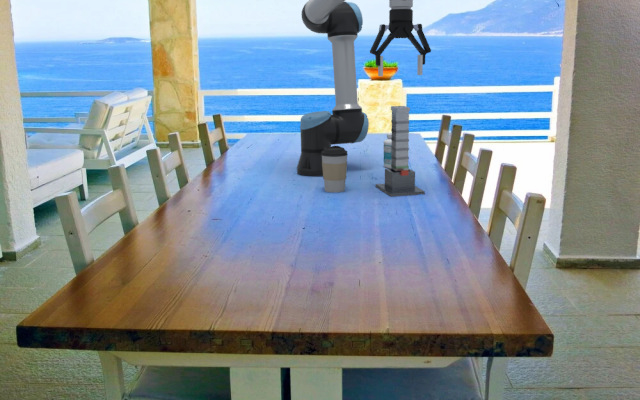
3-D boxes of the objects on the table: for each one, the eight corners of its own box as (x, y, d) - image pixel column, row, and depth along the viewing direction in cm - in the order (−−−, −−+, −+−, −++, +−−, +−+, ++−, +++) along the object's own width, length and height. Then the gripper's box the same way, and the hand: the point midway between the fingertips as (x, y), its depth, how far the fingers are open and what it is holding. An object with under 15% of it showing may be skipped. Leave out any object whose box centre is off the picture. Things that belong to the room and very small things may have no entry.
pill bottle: (402, 165, 280) (402, 132, 277) (402, 168, 273) (402, 134, 270) (383, 165, 281) (383, 132, 278) (383, 168, 274) (383, 135, 270)
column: (396, 171, 229) (397, 108, 224) (390, 168, 235) (390, 106, 230) (409, 171, 230) (409, 107, 225) (402, 167, 236) (403, 105, 231)
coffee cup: (345, 193, 231) (345, 149, 228) (319, 192, 233) (318, 149, 230) (349, 187, 240) (349, 145, 236) (324, 187, 242) (323, 144, 238)
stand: (390, 196, 225) (390, 173, 224) (375, 186, 241) (375, 164, 239) (424, 194, 228) (425, 171, 226) (408, 184, 243) (408, 163, 241)
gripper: (367, 8, 215) (367, 77, 220) (441, 7, 220) (440, 75, 225) (360, 9, 222) (360, 76, 227) (433, 8, 227) (431, 73, 232)
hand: (400, 75), depth 226 cm, fingers open, 13 cm apart
